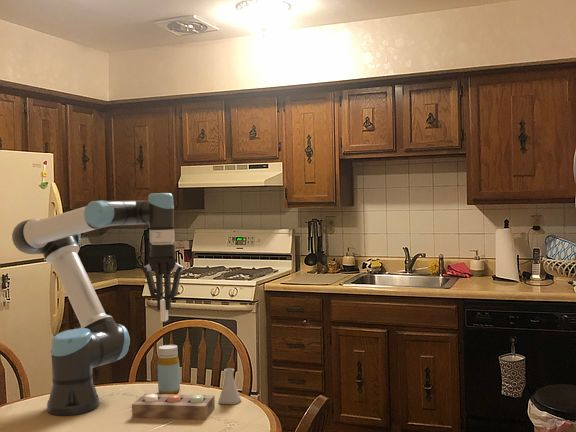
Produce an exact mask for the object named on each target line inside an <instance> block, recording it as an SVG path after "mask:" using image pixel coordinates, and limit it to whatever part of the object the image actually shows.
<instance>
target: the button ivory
mask: <svg viewBox="0 0 576 432" xmlns="http://www.w3.org/2000/svg"><path fill="white" fill-rule="evenodd" d="M148 394H149V395H146V396H145V402H156V401H157V400H158V395H156V394H157V393H148Z"/></svg>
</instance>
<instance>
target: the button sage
mask: <svg viewBox="0 0 576 432" xmlns="http://www.w3.org/2000/svg"><path fill="white" fill-rule="evenodd" d="M193 395H194V396H191V397H190V403H202V402H203V396H202V395H203V394H193Z"/></svg>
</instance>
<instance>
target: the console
mask: <svg viewBox="0 0 576 432" xmlns="http://www.w3.org/2000/svg"><path fill="white" fill-rule="evenodd" d="M149 394H150V393H144V394H143V395H142V396H140V397H139V398H137V399H136V400H135V401H134V402H133V403H131V413H132V414H131V417H132V418H131V419H154V420H157V419H158V420H160V419H161V420H162V419H163V420H187V421H188V420H189V421H190V420H193V421H206V420H207V419H208V418H209V416H210V415H211V414H212V413H213V411H214V410H215V409H216V403H215V402H216V401H215V395H214V394H213V395H212V394H201V395H202V396H203V402H202V403H190V397H191V396H194V395H195V394H179V395H180V402H167V397H168V396H169V395H177V393H175V394H160V393H155V394H156V395H158V400H157V401H156V402H145V396H146V395H149Z"/></svg>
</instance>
